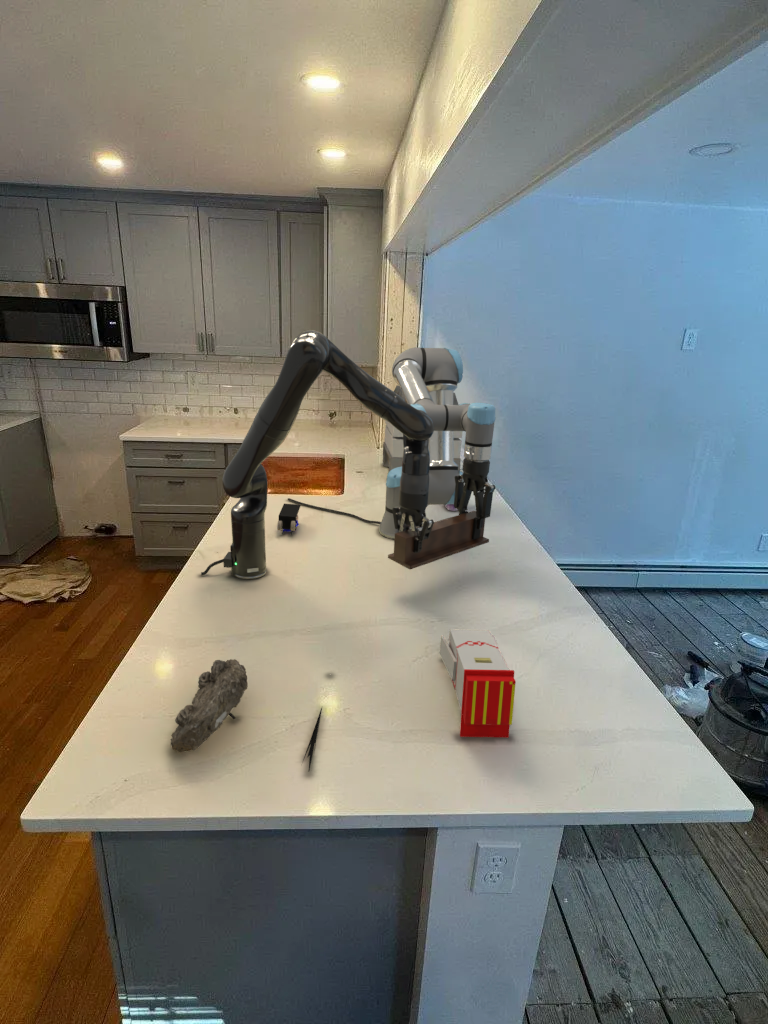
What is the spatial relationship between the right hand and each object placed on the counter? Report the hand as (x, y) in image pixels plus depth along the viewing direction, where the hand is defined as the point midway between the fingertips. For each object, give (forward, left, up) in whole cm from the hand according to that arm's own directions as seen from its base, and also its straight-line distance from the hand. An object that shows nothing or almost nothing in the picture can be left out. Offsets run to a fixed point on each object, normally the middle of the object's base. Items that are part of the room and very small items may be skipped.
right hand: (469, 535), depth 168 cm
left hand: (0, -24, +2) cm, 24 cm away
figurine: (-43, +42, -12) cm, 61 cm away
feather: (+27, -72, -12) cm, 78 cm away
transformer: (-88, +65, -12) cm, 110 cm away
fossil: (+14, -87, -12) cm, 89 cm away
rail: (0, -12, -2) cm, 12 cm away
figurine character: (-60, -25, -12) cm, 66 cm away
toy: (+39, -42, -12) cm, 59 cm away
